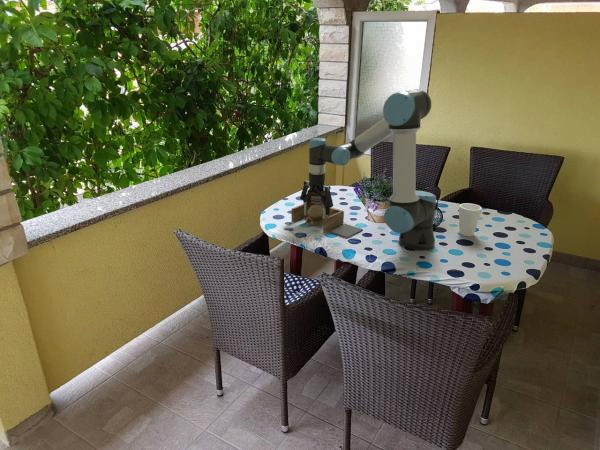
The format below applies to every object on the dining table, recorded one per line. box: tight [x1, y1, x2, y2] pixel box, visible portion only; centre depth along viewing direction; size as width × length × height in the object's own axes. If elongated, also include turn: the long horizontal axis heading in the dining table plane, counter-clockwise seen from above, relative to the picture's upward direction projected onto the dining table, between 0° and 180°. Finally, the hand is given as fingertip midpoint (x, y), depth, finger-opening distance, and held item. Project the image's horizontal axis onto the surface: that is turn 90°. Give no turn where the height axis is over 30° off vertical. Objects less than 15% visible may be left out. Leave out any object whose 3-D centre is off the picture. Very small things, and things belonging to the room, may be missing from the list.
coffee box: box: [305, 190, 326, 228], centre depth 213 cm, size 9×6×16 cm
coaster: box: [329, 223, 364, 239], centre depth 208 cm, size 10×12×1 cm
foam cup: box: [458, 202, 483, 237], centre depth 205 cm, size 10×9×13 cm
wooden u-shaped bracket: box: [290, 204, 345, 234], centre depth 216 cm, size 20×14×7 cm
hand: (315, 217), depth 215 cm, fingers closed on coffee box, 11 cm apart
